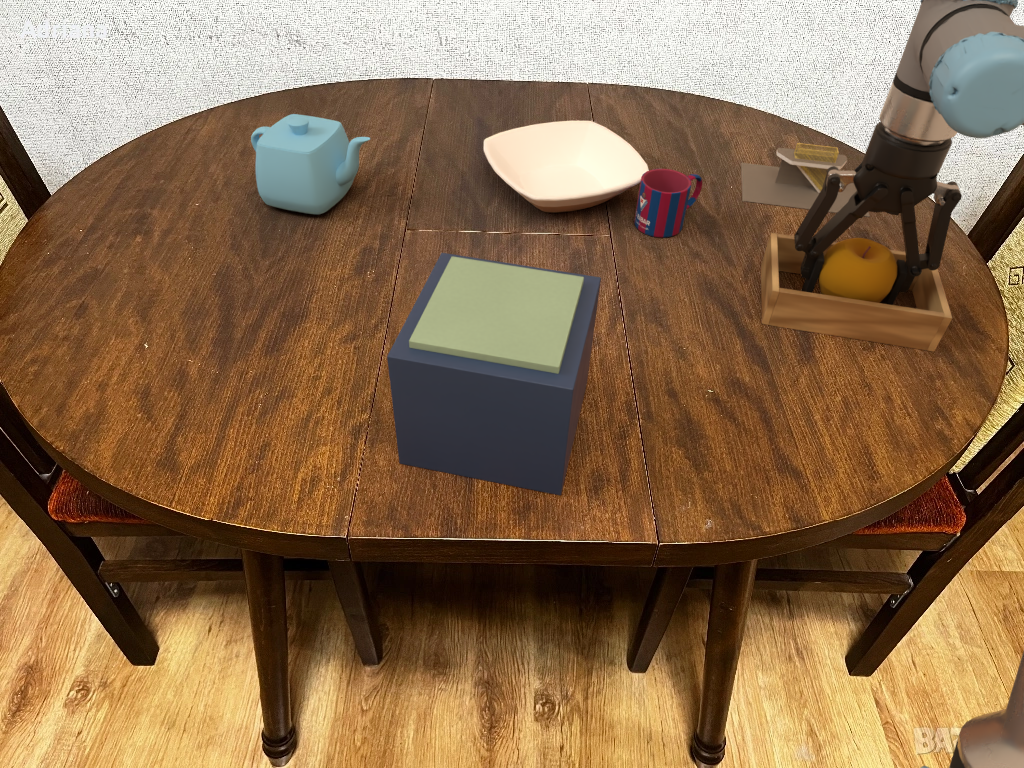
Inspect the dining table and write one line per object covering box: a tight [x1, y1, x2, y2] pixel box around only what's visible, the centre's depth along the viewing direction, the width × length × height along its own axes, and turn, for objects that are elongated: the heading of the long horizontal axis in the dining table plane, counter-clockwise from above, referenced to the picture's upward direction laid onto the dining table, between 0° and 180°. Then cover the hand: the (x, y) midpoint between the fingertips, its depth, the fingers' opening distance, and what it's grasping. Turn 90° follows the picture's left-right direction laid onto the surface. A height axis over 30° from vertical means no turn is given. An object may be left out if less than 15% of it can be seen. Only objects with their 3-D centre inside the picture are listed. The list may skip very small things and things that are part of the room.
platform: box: [740, 142, 871, 218], centre depth 113 cm, size 12×18×7 cm, turn 79°
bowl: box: [483, 120, 650, 213], centre depth 111 cm, size 22×22×5 cm
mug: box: [633, 168, 703, 239], centre depth 105 cm, size 7×10×7 cm
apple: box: [817, 237, 897, 303], centre depth 91 cm, size 8×8×9 cm
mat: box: [409, 257, 584, 374], centre depth 69 cm, size 13×13×1 cm
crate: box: [386, 252, 602, 496], centre depth 74 cm, size 16×16×14 cm
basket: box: [760, 232, 953, 352], centre depth 93 cm, size 13×20×5 cm, turn 77°
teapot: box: [250, 113, 371, 215], centre depth 105 cm, size 12×18×12 cm
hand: (843, 304), depth 94 cm, fingers closed on apple, 9 cm apart
